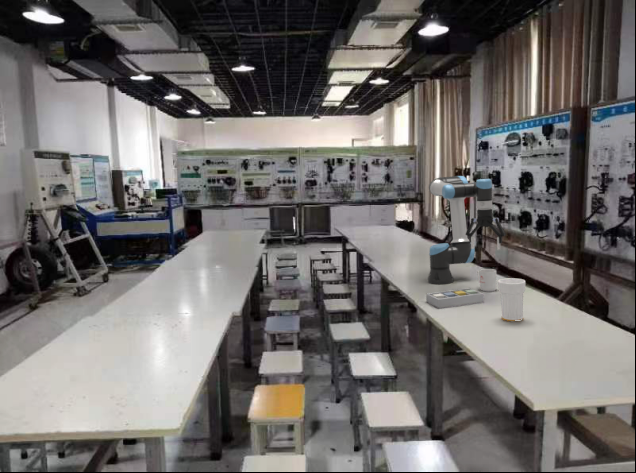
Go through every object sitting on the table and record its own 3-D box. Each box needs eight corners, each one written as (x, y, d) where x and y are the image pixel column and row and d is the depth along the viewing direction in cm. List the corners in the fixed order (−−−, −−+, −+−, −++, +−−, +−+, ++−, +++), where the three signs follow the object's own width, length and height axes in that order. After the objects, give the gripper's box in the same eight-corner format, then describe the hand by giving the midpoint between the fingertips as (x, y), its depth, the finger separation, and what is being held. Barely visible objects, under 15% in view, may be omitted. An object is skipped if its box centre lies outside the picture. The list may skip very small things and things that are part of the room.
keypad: (426, 302, 249) (426, 293, 249) (469, 296, 254) (469, 287, 254) (438, 308, 236) (438, 299, 235) (483, 302, 241) (483, 293, 240)
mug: (500, 290, 263) (499, 270, 261) (488, 292, 259) (487, 272, 258) (484, 286, 273) (483, 267, 272) (472, 288, 270) (471, 269, 268)
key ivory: (432, 298, 245) (432, 294, 244) (440, 297, 246) (440, 293, 245) (436, 300, 240) (436, 296, 240) (444, 299, 241) (444, 295, 241)
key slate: (443, 297, 246) (443, 293, 246) (451, 296, 247) (450, 292, 246) (447, 299, 242) (447, 295, 241) (455, 298, 242) (455, 293, 242)
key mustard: (453, 295, 247) (453, 291, 247) (461, 294, 248) (461, 290, 248) (458, 297, 243) (457, 293, 242) (465, 296, 244) (465, 292, 243)
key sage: (464, 294, 248) (464, 290, 248) (471, 293, 249) (471, 289, 249) (468, 296, 244) (468, 292, 244) (476, 295, 245) (476, 291, 245)
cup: (512, 324, 204) (511, 285, 202) (493, 318, 215) (492, 280, 213) (531, 319, 209) (531, 281, 207) (512, 313, 219) (511, 276, 217)
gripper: (458, 209, 250) (459, 249, 253) (507, 209, 235) (508, 251, 238) (463, 208, 256) (464, 246, 259) (511, 207, 241) (512, 248, 244)
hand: (485, 249), depth 249 cm, fingers open, 13 cm apart
